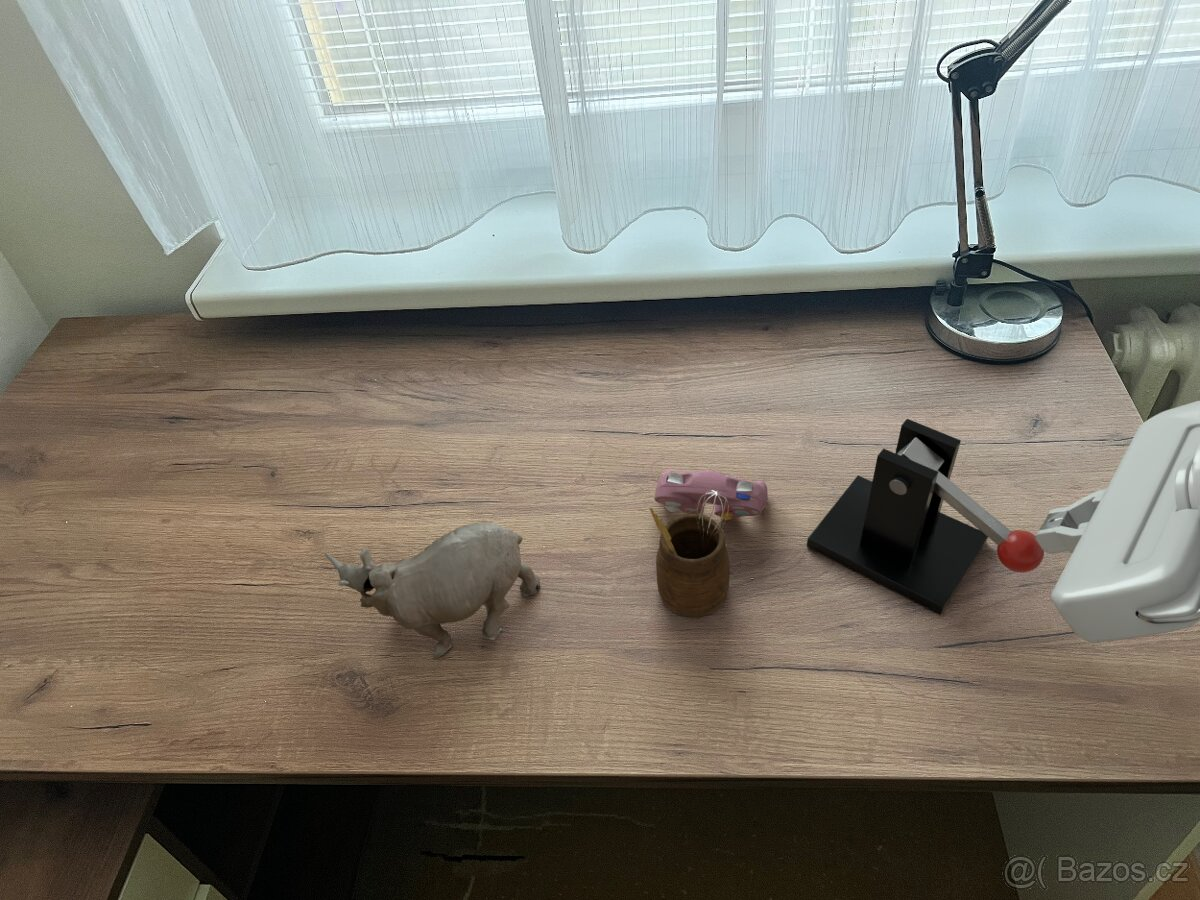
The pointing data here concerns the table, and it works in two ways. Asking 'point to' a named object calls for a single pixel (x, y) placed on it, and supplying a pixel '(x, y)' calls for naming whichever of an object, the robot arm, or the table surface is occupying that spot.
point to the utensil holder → (692, 563)
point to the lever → (980, 515)
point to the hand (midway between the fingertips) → (1046, 532)
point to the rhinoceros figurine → (445, 581)
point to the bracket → (902, 525)
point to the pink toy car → (711, 493)
